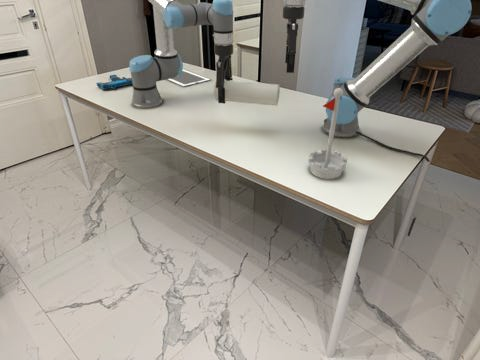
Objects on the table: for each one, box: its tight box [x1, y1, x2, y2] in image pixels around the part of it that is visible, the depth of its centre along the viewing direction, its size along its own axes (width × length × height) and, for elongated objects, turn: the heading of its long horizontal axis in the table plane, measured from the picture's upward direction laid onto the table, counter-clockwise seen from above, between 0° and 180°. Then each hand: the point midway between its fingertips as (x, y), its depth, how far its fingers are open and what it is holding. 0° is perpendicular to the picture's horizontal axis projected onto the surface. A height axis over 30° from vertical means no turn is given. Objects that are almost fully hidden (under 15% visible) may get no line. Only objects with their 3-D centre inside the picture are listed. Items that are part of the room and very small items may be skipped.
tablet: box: [166, 68, 212, 88], centre depth 217 cm, size 32×20×1 cm, turn 41°
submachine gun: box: [95, 74, 133, 91], centre depth 209 cm, size 34×4×25 cm
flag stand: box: [307, 88, 348, 180], centre depth 113 cm, size 13×13×30 cm
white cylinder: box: [213, 80, 281, 107], centre depth 142 cm, size 26×8×8 cm, turn 76°
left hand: (224, 99), depth 146 cm, fingers closed on white cylinder, 8 cm apart
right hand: (289, 67), depth 131 cm, fingers open, 13 cm apart
